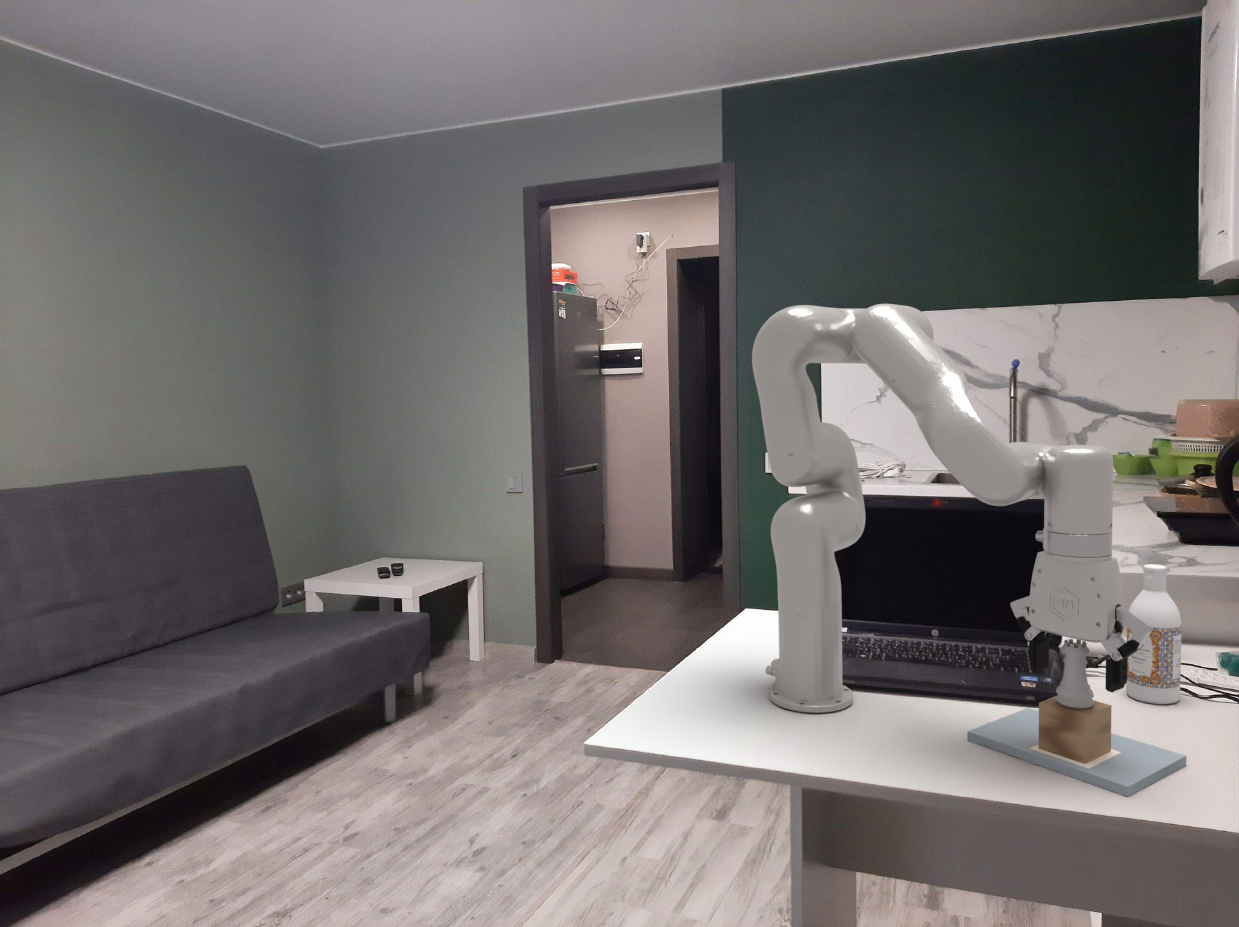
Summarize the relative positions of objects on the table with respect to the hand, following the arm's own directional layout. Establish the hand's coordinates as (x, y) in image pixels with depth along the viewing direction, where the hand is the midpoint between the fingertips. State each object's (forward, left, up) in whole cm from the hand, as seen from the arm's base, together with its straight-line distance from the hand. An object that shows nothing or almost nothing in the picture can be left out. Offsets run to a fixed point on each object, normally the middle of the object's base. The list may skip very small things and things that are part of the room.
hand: (1076, 678), depth 112 cm
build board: (-2, +2, -10) cm, 11 cm away
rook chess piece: (0, 0, -4) cm, 4 cm away
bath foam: (-5, +30, -11) cm, 32 cm away
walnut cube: (0, 0, -9) cm, 9 cm away
